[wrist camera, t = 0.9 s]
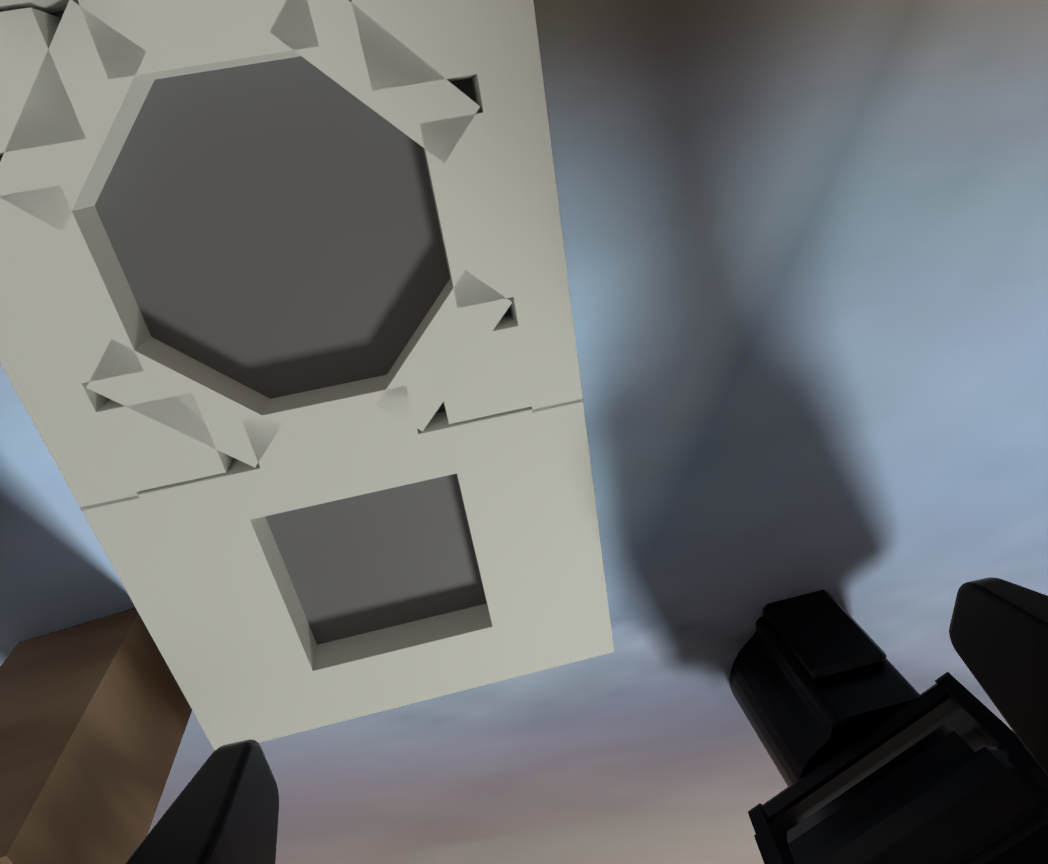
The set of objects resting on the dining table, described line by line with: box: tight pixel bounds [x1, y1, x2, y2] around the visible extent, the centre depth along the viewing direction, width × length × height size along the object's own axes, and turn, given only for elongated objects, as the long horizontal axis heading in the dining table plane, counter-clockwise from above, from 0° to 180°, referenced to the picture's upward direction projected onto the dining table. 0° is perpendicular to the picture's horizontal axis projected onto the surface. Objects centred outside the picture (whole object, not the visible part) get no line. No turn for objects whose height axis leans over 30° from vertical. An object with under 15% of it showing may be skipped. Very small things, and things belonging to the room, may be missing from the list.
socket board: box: [0, 0, 614, 750], centre depth 18 cm, size 22×14×2 cm, turn 9°
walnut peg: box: [0, 608, 192, 864], centre depth 18 cm, size 4×4×8 cm
